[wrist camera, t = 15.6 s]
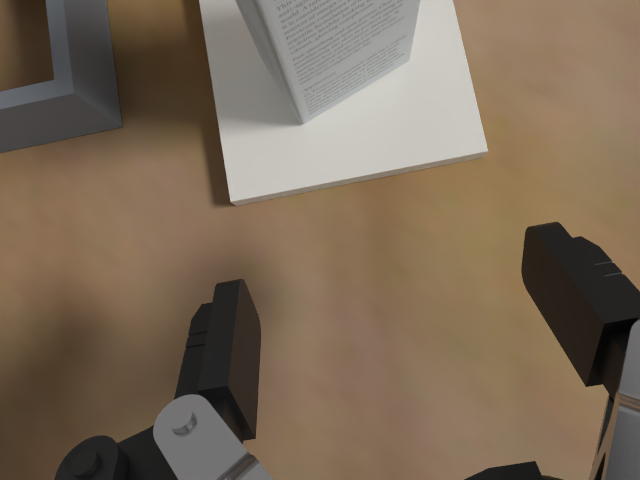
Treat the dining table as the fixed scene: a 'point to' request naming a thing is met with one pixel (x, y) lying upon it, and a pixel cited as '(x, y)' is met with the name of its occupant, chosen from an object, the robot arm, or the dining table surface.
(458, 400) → the dining table surface
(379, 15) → the skincare box
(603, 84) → the dining table surface
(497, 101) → the dining table surface
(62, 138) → the gray rectangular frame
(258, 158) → the pale tile
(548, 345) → the dining table surface
